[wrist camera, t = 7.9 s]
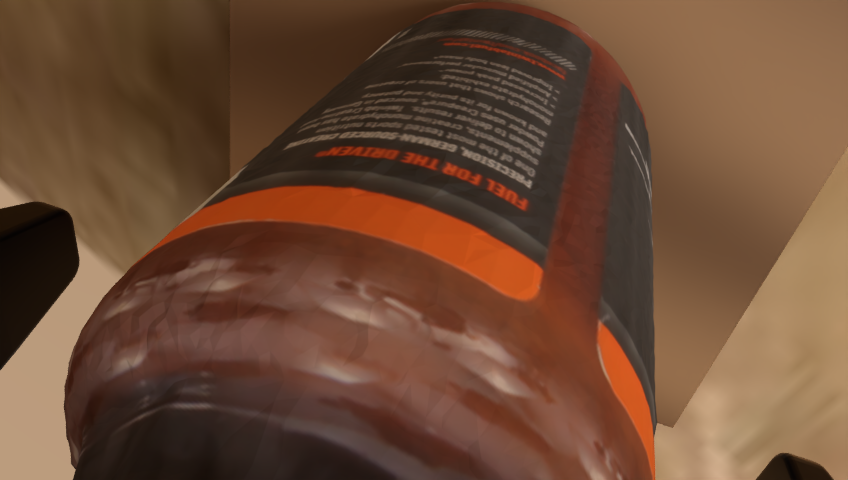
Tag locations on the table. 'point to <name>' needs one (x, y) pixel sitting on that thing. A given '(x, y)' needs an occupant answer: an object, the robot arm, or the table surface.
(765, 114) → the walnut base
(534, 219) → the supplement bottle
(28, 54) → the table surface
